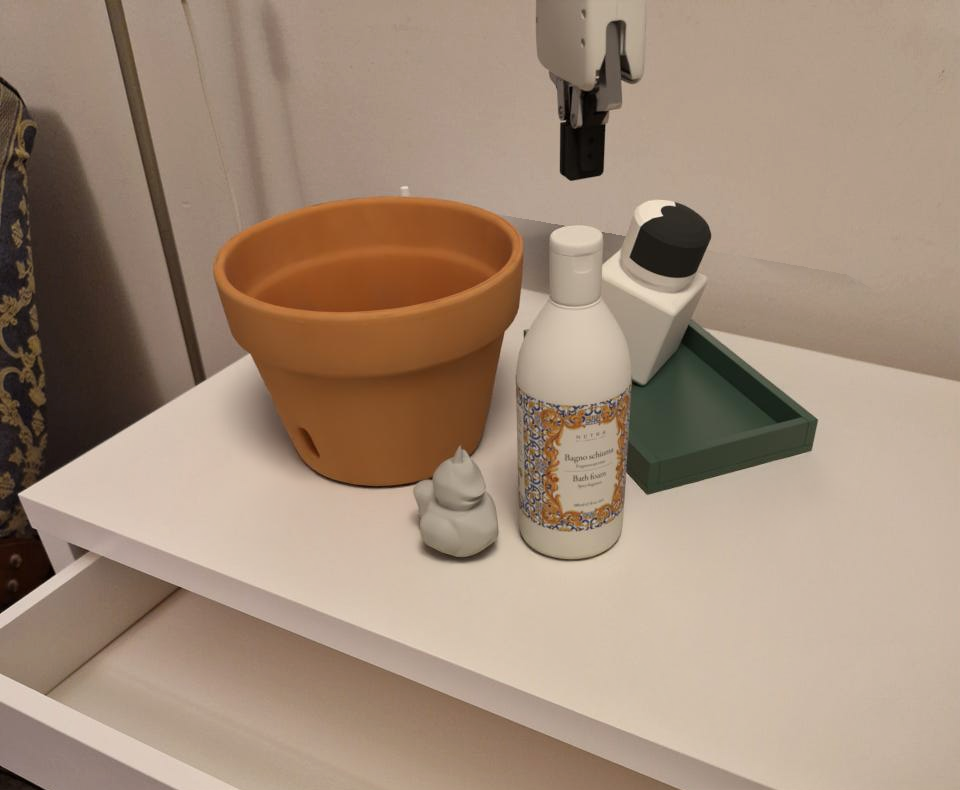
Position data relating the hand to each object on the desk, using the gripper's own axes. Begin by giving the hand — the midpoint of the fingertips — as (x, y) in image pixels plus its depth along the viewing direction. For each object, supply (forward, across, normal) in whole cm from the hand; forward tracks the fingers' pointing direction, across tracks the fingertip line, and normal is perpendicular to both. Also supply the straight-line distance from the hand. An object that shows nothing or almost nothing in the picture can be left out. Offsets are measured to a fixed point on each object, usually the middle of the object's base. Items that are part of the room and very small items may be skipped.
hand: (581, 174), depth 81 cm
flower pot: (+13, -11, +21) cm, 27 cm away
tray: (+13, -15, 0) cm, 20 cm away
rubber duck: (+13, -26, +21) cm, 36 cm away
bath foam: (+13, -28, +13) cm, 33 cm away
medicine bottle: (+12, -8, 0) cm, 14 cm away
